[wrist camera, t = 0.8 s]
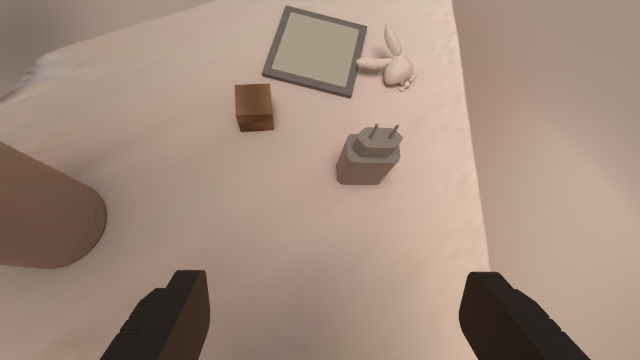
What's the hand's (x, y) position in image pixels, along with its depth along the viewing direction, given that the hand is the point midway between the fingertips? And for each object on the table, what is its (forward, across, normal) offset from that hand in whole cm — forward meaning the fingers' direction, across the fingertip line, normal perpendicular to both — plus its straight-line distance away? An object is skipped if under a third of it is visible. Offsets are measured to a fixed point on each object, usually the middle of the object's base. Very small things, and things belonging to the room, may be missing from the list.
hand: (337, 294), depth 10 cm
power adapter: (+29, -6, +6) cm, 30 cm away
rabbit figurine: (+38, -10, -5) cm, 40 cm away
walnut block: (+33, +7, 0) cm, 34 cm away
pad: (+40, 0, -8) cm, 40 cm away
